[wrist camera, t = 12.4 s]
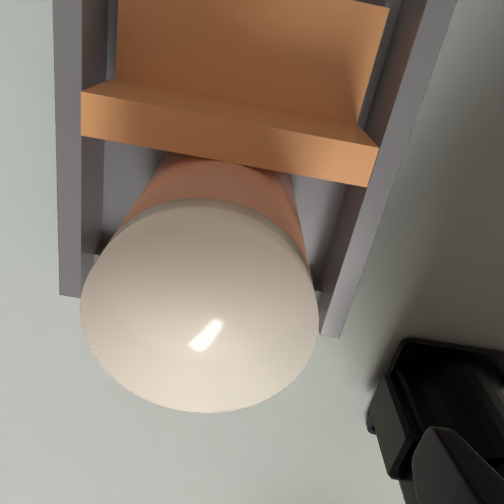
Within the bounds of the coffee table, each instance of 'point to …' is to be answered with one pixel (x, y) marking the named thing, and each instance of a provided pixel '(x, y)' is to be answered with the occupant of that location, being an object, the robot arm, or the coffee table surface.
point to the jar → (204, 289)
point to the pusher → (244, 83)
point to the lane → (305, 188)
